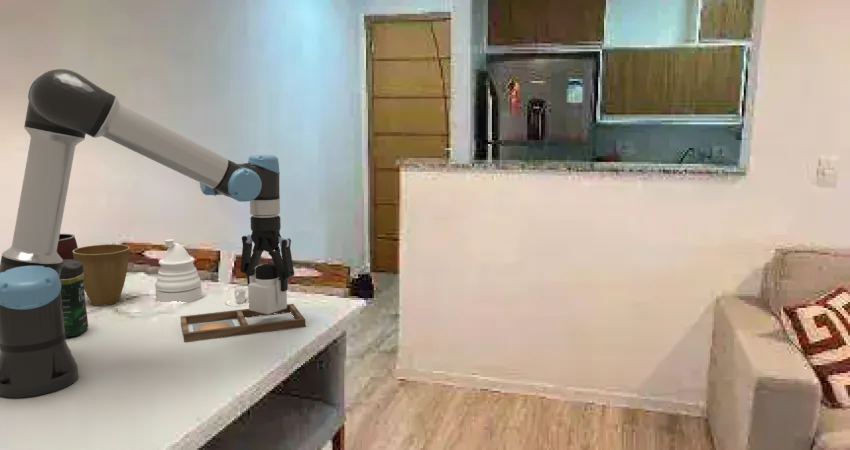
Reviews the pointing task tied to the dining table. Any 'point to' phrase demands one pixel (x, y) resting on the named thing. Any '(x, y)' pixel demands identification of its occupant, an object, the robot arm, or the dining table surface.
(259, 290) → the medicine bottle
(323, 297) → the dining table surface
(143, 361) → the dining table surface
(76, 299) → the coffee jar
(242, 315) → the walnut rack
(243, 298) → the teacup and saucer
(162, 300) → the honey pot
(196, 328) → the card
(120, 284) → the plant pot
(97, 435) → the dining table surface
